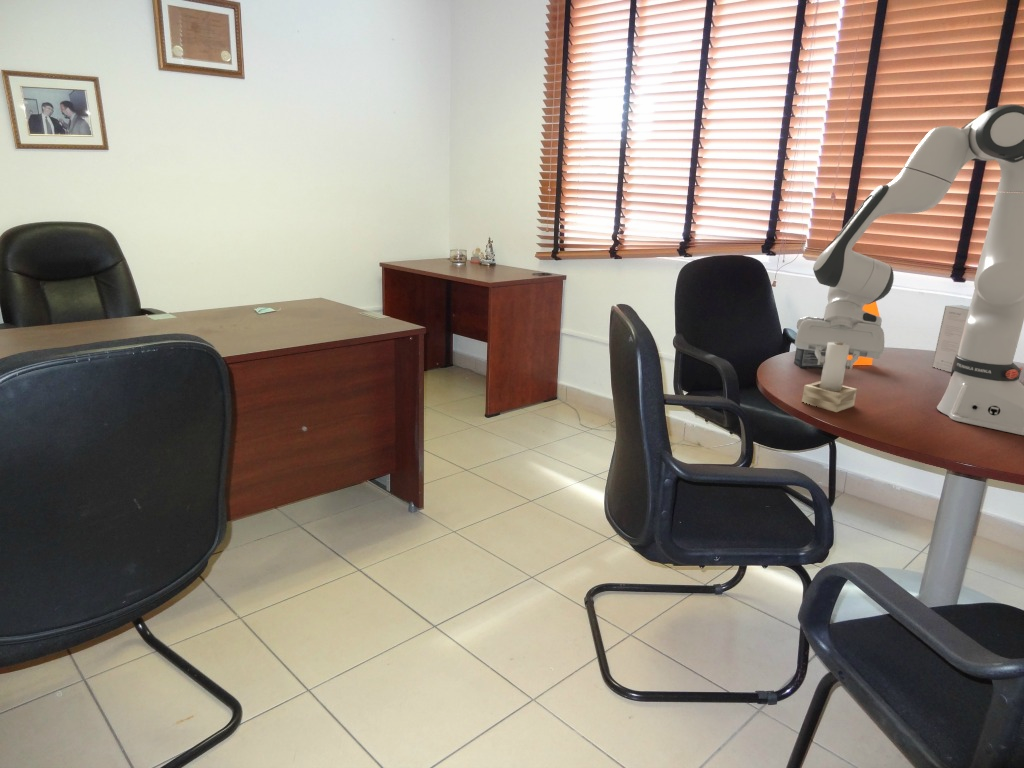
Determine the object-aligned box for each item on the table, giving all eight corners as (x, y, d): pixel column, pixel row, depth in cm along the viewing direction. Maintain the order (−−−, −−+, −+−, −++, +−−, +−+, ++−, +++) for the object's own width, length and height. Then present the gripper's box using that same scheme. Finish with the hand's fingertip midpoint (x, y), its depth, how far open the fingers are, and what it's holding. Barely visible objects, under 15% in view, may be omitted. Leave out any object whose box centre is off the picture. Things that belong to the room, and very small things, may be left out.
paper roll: (844, 391, 165) (854, 343, 162) (834, 394, 162) (844, 345, 159) (825, 386, 169) (834, 339, 166) (815, 389, 166) (824, 341, 163)
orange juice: (831, 359, 213) (842, 298, 207) (855, 359, 215) (867, 298, 209) (846, 365, 206) (859, 302, 200) (872, 365, 207) (885, 302, 201)
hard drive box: (996, 379, 197) (1013, 313, 191) (979, 380, 194) (996, 314, 189) (946, 365, 211) (961, 304, 205) (930, 367, 208) (944, 304, 202)
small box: (827, 364, 206) (833, 332, 203) (835, 370, 200) (841, 336, 197) (792, 362, 207) (798, 330, 204) (799, 368, 201) (805, 334, 198)
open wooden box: (853, 406, 166) (857, 389, 165) (836, 412, 161) (839, 394, 159) (819, 396, 173) (822, 380, 172) (801, 402, 168) (804, 385, 166)
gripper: (799, 308, 171) (790, 353, 165) (888, 318, 162) (882, 365, 157) (797, 322, 176) (789, 366, 170) (884, 332, 167) (878, 378, 162)
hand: (834, 365), depth 163 cm, fingers closed on paper roll, 5 cm apart
